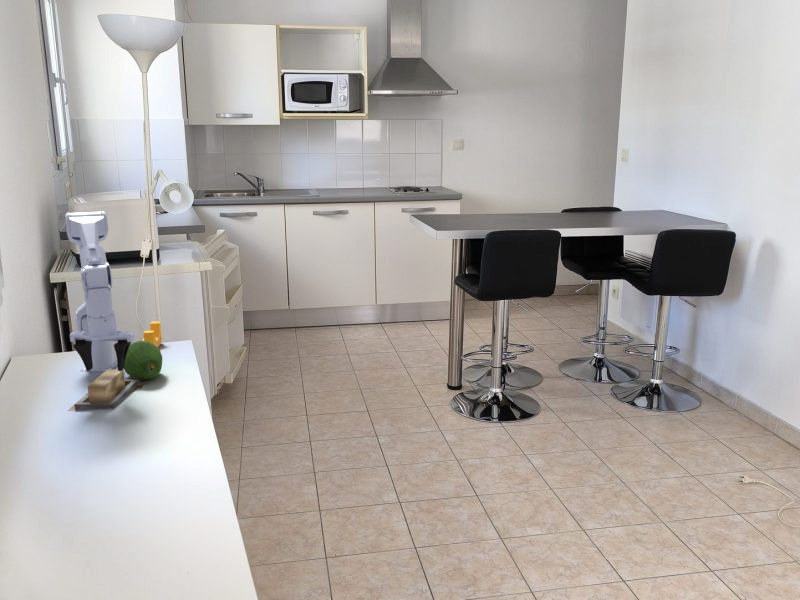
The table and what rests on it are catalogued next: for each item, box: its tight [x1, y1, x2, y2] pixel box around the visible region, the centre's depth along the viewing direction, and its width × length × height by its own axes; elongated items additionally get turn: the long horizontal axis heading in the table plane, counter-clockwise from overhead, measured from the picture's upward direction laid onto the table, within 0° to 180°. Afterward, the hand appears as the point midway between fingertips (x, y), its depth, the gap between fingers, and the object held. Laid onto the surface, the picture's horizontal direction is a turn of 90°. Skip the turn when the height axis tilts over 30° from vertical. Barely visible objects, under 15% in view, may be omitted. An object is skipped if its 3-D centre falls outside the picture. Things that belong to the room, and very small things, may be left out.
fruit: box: [124, 340, 163, 381], centre depth 188 cm, size 15×10×10 cm, turn 29°
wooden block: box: [87, 368, 125, 403], centre depth 174 cm, size 12×4×5 cm, turn 0°
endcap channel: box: [67, 378, 146, 412], centre depth 175 cm, size 18×12×2 cm
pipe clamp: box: [141, 321, 163, 348], centre depth 216 cm, size 12×4×6 cm, turn 8°
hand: (105, 369), depth 173 cm, fingers open, 7 cm apart
